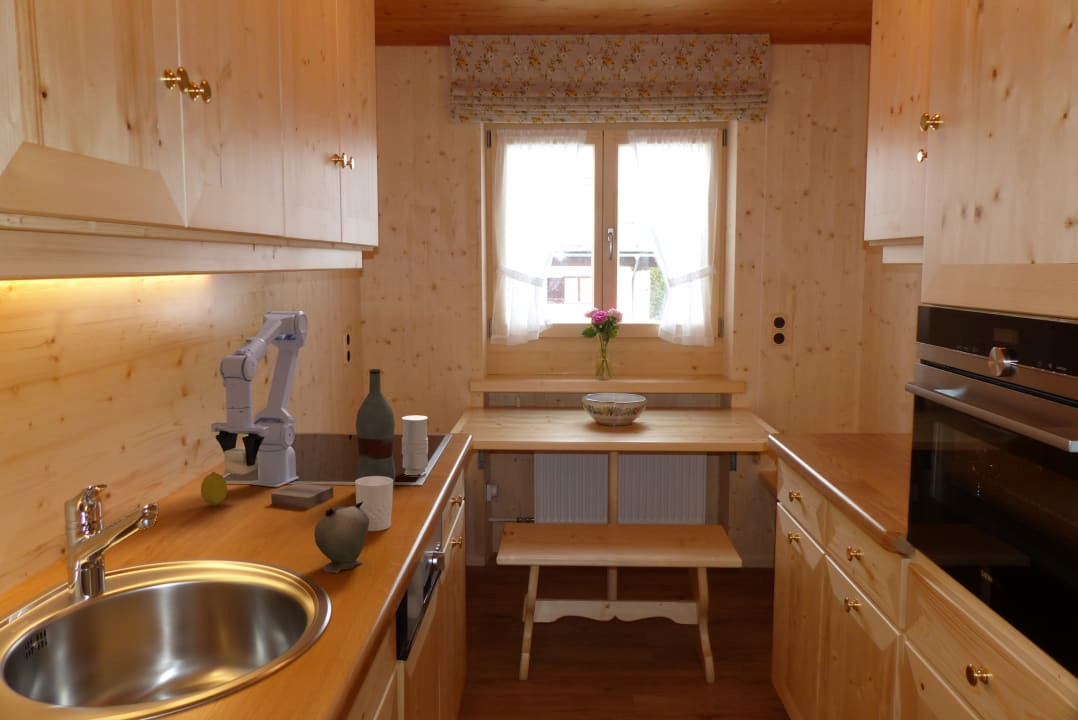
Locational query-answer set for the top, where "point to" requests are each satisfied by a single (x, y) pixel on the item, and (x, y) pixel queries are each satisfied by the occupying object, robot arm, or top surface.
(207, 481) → the lemon
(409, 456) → the stack of cups
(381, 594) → the top surface
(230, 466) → the maple cube
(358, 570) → the top surface
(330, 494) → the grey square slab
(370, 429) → the bottle
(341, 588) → the top surface
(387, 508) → the white cup
